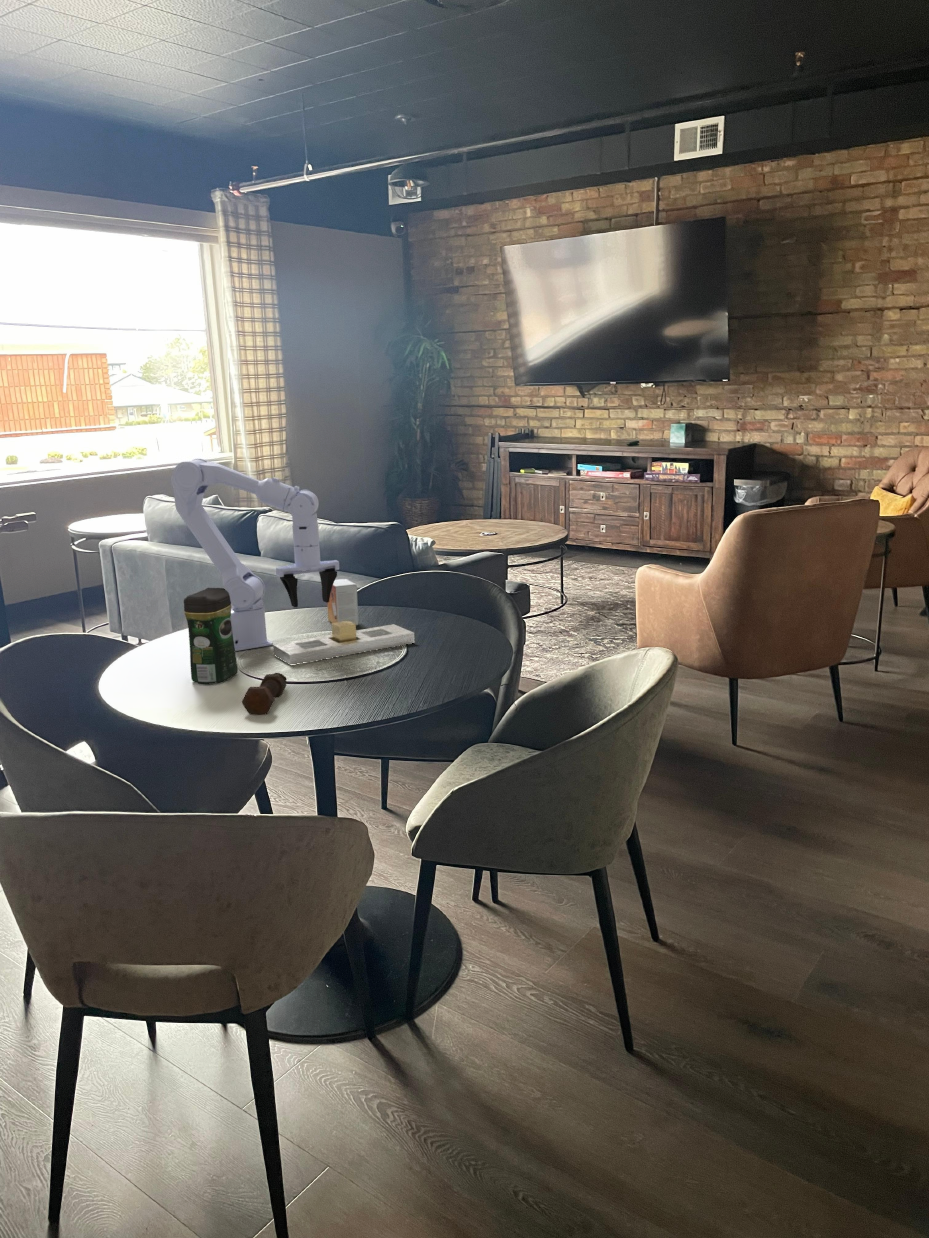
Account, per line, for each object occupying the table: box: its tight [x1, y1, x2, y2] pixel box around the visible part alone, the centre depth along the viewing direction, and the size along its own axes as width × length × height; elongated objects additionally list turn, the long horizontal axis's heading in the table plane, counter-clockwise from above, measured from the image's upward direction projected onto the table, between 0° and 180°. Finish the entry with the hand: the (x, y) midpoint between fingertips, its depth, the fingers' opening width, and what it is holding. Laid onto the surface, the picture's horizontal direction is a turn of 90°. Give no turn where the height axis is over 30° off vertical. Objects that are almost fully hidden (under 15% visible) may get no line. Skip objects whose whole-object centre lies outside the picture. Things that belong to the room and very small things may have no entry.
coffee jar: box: [183, 587, 239, 686], centre depth 184 cm, size 10×8×19 cm
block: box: [331, 621, 357, 643], centre depth 205 cm, size 4×4×6 cm
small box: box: [326, 578, 359, 626], centre depth 229 cm, size 8×6×10 cm
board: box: [272, 623, 415, 664], centre depth 205 cm, size 30×10×2 cm, turn 122°
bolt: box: [241, 672, 288, 716], centre depth 172 cm, size 6×5×15 cm
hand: (310, 604), depth 209 cm, fingers open, 7 cm apart
